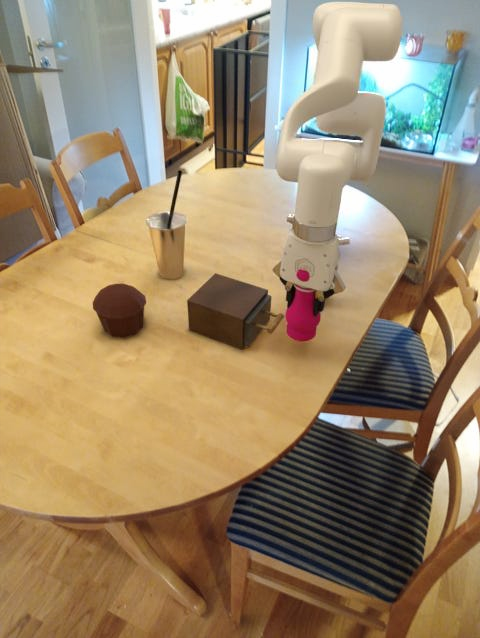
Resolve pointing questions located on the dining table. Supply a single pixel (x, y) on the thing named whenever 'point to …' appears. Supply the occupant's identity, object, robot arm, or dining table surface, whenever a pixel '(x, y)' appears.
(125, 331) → the muffin
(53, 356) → the dining table surface
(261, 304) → the drawer
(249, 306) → the cabinet
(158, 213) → the metal cup with straw
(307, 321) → the pepper mill
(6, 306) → the dining table surface
